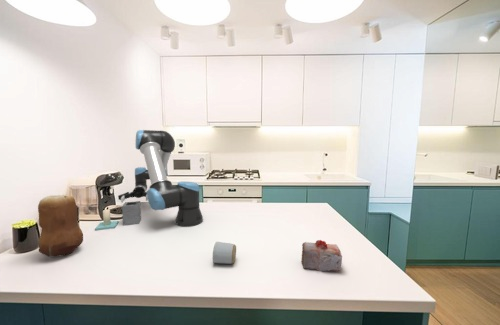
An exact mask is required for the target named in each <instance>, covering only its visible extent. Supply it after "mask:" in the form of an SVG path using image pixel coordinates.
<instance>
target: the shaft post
mask: <svg viewBox="0 0 500 325" xmlns="http://www.w3.org/2000/svg"><path fill="white" fill-rule="evenodd" d="M102 219H103V220H102V221H103V222H99V224H98V225H96V227H95V228H94V231H102V230H110V229H111V230H113V229H115V228H116V227H117V225H118V224H119V222H120V221H119V220H111V210H110V209H109V208H108V209H104V210H102Z"/></svg>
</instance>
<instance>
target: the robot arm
mask: <svg viewBox="0 0 500 325" xmlns="http://www.w3.org/2000/svg"><path fill="white" fill-rule="evenodd" d="M175 144H176V143H175V139H174V137H173V136H172V134H171V133H169V132H168V131H165V130H150V129H149V130H148V129H141V130H140V129H139V130H137V131H136V133H135V149H136V150H139V152H140V153H141V154H143V157H144V161H145V164H146V167H145V166H143V167H142V166H140V167H139V166H138V167H135V168H134V178H135V179H134V181H135V185H134V186H135V187H134V189H133V190H132V191H131V192H130V191H126V192H124V193H122V194H119V195H118V197H117V198H118V200H119V201H120V203H121V204H122V203H123V204H124V202H125V200H127V199H129V198H130V199H131V198H137V199H139V198H142V197H143V198H145V201H146V202H147V201H148V204H149V206H150V208H151V209H152V210H154V211H160V210H161V211H163V210H165V209H166V210H167V209H172V208H176V207H178V211H177V213H176V216H175V225H177V226H180V227H193V226H197V225H199V224H201V223H202V222H204V221H203V220H204V218H203V213H202V211H201V208H200V186H199V183H197V182H194V181H193V182H192V181H178V182H177V184H176V185H173V184H172V181H170V180H168V178H167V176H168V173H167V166H168V163H169V159H170V157H171V154H172V153H173V152H174V150H175V147H176V145H175ZM148 180H149V181H150V185H149V188H148V185H147V181H148Z"/></svg>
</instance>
